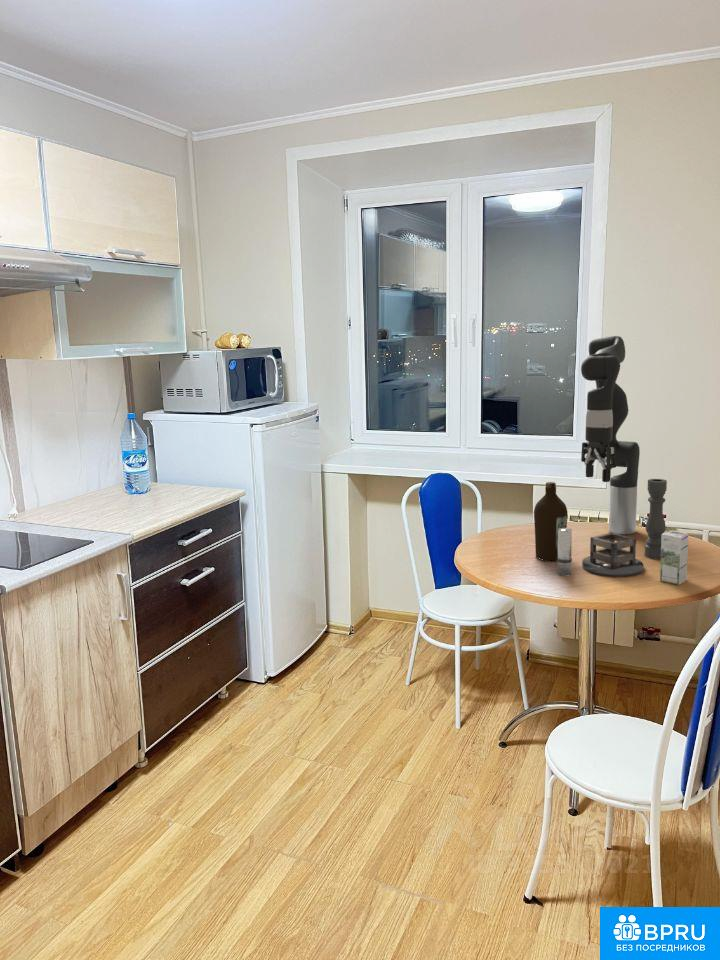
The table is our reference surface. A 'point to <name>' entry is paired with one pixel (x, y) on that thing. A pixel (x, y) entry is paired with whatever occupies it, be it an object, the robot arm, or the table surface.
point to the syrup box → (674, 557)
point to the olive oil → (549, 523)
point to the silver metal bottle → (564, 551)
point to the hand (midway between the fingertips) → (597, 479)
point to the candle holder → (655, 518)
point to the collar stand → (612, 556)
